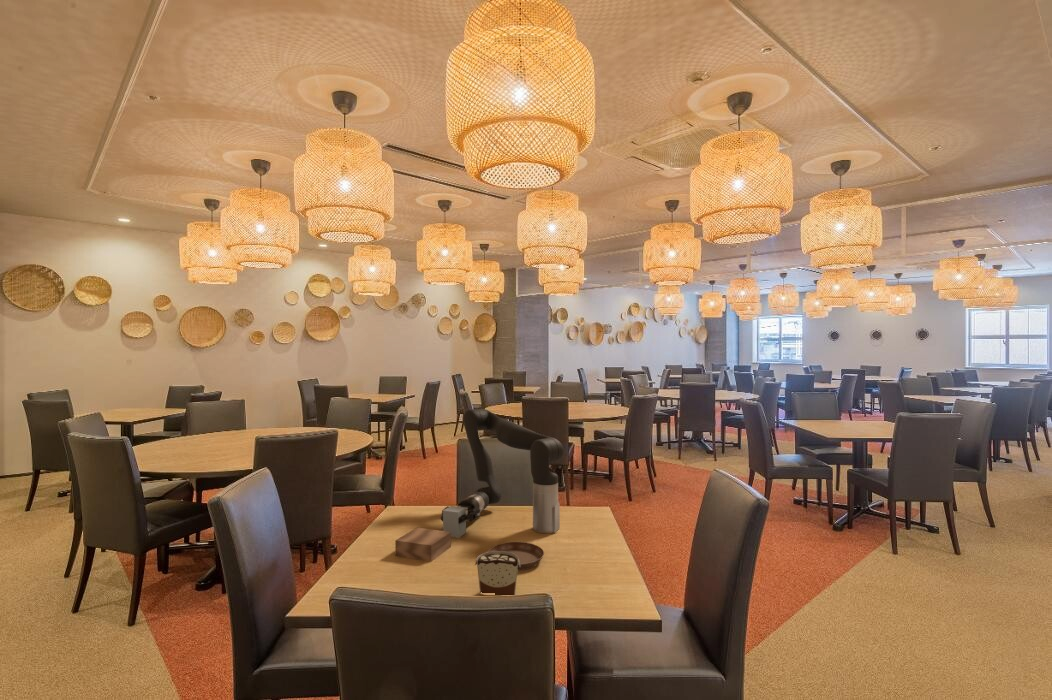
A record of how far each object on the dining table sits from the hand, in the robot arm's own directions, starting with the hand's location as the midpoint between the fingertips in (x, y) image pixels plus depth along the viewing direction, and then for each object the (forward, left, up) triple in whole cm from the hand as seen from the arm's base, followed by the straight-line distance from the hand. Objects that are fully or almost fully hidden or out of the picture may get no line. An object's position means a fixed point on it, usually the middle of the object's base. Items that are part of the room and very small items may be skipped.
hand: (450, 519), depth 189 cm
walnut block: (+2, +15, -6) cm, 16 cm away
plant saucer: (-29, +12, -7) cm, 32 cm away
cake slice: (-32, +33, -6) cm, 46 cm away
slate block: (0, -3, -6) cm, 7 cm away
